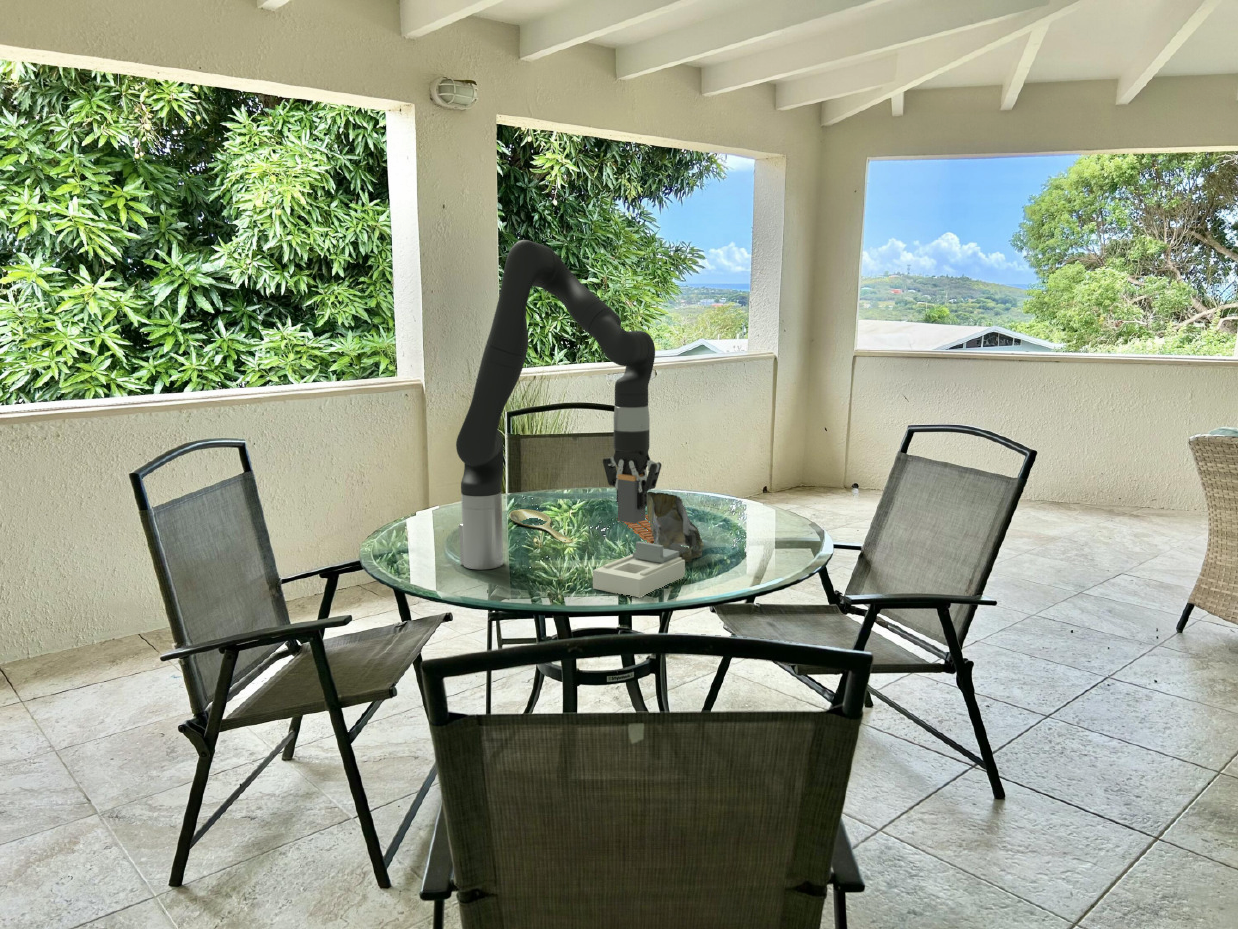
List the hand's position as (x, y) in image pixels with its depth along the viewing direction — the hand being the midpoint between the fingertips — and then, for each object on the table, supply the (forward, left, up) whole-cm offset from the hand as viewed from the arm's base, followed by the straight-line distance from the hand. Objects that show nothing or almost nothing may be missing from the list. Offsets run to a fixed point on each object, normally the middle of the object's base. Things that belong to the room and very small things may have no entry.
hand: (631, 507), depth 193 cm
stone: (-9, +30, -18) cm, 36 cm away
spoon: (-50, +29, -18) cm, 60 cm away
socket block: (0, +3, -17) cm, 18 cm away
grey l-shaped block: (0, +9, -13) cm, 16 cm away
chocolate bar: (-24, +47, -18) cm, 56 cm away
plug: (0, 0, -3) cm, 3 cm away
